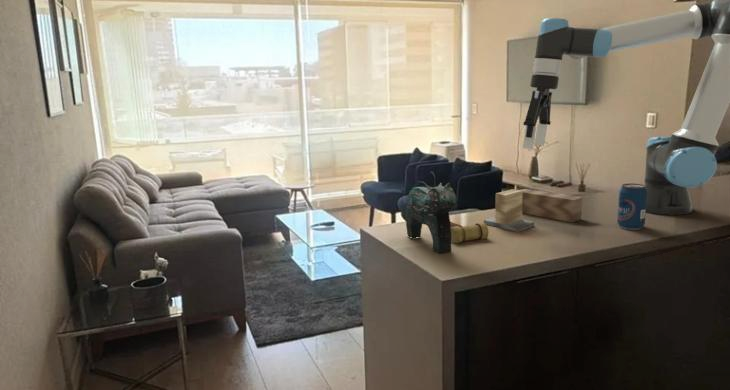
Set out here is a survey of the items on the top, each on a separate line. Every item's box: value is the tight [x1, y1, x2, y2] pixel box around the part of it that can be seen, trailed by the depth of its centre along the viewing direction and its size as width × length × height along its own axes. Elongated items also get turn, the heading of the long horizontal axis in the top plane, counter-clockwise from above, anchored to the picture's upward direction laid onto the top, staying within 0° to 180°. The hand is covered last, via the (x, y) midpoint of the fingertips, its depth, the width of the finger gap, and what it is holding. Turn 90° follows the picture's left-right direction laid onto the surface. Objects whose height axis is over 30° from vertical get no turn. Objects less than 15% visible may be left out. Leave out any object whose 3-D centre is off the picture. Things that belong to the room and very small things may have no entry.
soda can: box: [616, 183, 647, 231], centre depth 143 cm, size 7×7×12 cm
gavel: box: [450, 221, 489, 244], centre depth 146 cm, size 21×5×10 cm
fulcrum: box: [483, 188, 535, 232], centre depth 150 cm, size 12×8×10 cm, turn 38°
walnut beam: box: [520, 188, 583, 223], centre depth 160 cm, size 20×5×7 cm, turn 39°
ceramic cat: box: [405, 171, 457, 254], centre depth 134 cm, size 20×6×20 cm, turn 23°
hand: (533, 147), depth 153 cm, fingers open, 13 cm apart
